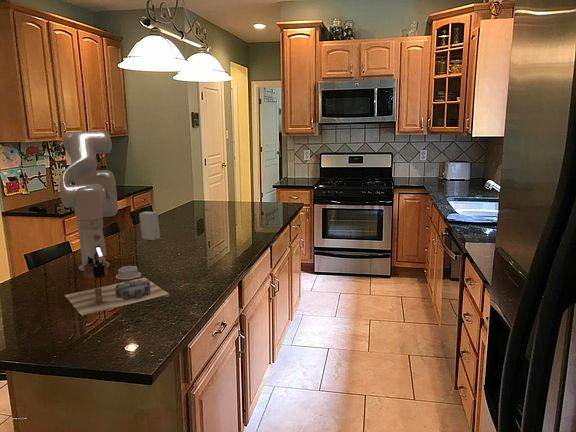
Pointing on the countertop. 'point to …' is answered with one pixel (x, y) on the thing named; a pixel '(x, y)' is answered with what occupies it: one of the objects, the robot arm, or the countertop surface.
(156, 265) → the countertop surface
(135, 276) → the mechanical component
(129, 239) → the countertop surface
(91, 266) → the walnut gear
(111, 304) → the gear board
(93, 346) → the countertop surface
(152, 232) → the skincare box
